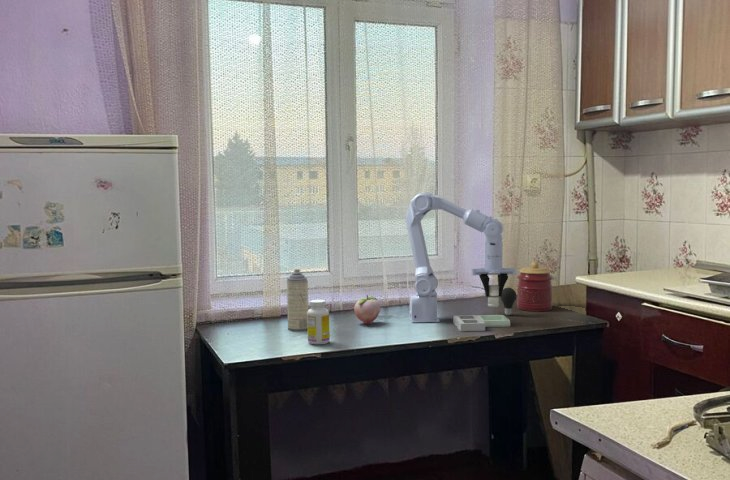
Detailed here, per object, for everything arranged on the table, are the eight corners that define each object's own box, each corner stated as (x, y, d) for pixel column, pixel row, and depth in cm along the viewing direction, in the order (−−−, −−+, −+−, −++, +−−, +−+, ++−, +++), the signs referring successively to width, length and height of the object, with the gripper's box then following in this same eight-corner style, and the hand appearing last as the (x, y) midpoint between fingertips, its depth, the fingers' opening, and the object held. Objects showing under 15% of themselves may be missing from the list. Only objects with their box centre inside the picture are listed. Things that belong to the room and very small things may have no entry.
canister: (510, 306, 266) (510, 260, 264) (540, 304, 270) (541, 258, 268) (528, 313, 254) (528, 264, 252) (559, 310, 258) (560, 262, 256)
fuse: (489, 307, 234) (489, 286, 233) (486, 305, 238) (487, 284, 237) (500, 307, 234) (500, 286, 233) (497, 305, 238) (497, 284, 237)
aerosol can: (312, 327, 234) (311, 268, 232) (302, 332, 228) (301, 271, 226) (294, 325, 237) (293, 267, 235) (284, 330, 230) (282, 269, 228)
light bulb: (515, 313, 252) (515, 286, 251) (517, 317, 247) (517, 289, 246) (499, 313, 253) (499, 286, 252) (500, 316, 247) (501, 288, 246)
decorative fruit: (363, 320, 244) (363, 291, 243) (384, 322, 240) (383, 293, 239) (349, 325, 236) (348, 296, 235) (370, 328, 232) (369, 298, 231)
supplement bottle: (329, 339, 217) (329, 298, 216) (329, 344, 210) (328, 302, 209) (308, 340, 217) (307, 299, 215) (307, 345, 210) (306, 303, 209)
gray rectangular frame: (460, 331, 226) (460, 323, 226) (453, 322, 239) (453, 315, 239) (485, 330, 226) (485, 323, 226) (476, 322, 239) (476, 315, 239)
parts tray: (482, 327, 232) (482, 321, 232) (476, 321, 241) (476, 315, 241) (510, 326, 232) (510, 320, 232) (503, 320, 241) (503, 314, 241)
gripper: (474, 257, 230) (474, 298, 231) (518, 257, 231) (517, 297, 232) (470, 255, 237) (470, 294, 238) (512, 254, 238) (512, 294, 239)
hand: (493, 296), depth 236 cm, fingers closed on fuse, 4 cm apart
